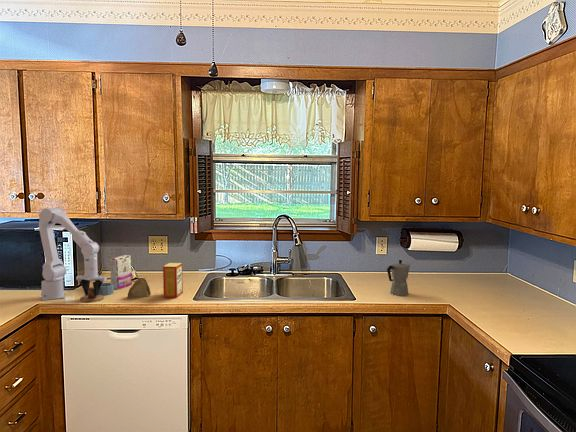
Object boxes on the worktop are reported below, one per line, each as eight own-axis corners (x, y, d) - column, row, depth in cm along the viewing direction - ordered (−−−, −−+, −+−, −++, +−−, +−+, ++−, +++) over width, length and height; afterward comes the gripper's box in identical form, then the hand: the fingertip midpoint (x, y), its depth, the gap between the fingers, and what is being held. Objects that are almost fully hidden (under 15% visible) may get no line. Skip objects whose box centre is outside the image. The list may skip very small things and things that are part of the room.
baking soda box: (170, 292, 215) (169, 262, 214) (182, 292, 215) (182, 262, 214) (163, 297, 206) (163, 265, 205) (176, 298, 206) (176, 266, 204)
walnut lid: (80, 304, 195) (79, 292, 194) (80, 298, 204) (79, 287, 204) (104, 301, 200) (104, 290, 199) (103, 295, 209) (102, 285, 208)
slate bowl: (95, 296, 207) (95, 287, 206) (94, 292, 214) (94, 283, 214) (114, 294, 211) (114, 285, 210) (112, 290, 218) (112, 282, 218)
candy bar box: (124, 283, 232) (124, 254, 230) (132, 284, 230) (131, 255, 228) (110, 288, 221) (109, 258, 220) (118, 289, 219) (117, 259, 218)
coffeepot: (402, 290, 225) (403, 257, 223) (415, 294, 217) (416, 260, 215) (380, 293, 217) (381, 259, 216) (393, 298, 209) (394, 263, 208)
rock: (122, 295, 201) (141, 293, 200) (125, 278, 206) (144, 276, 205) (132, 303, 210) (151, 301, 209) (135, 287, 215) (153, 285, 214)
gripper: (71, 268, 197) (72, 296, 199) (100, 270, 196) (101, 298, 197) (81, 265, 204) (81, 292, 206) (108, 266, 203) (109, 294, 204)
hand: (91, 295), depth 202 cm, fingers open, 4 cm apart
